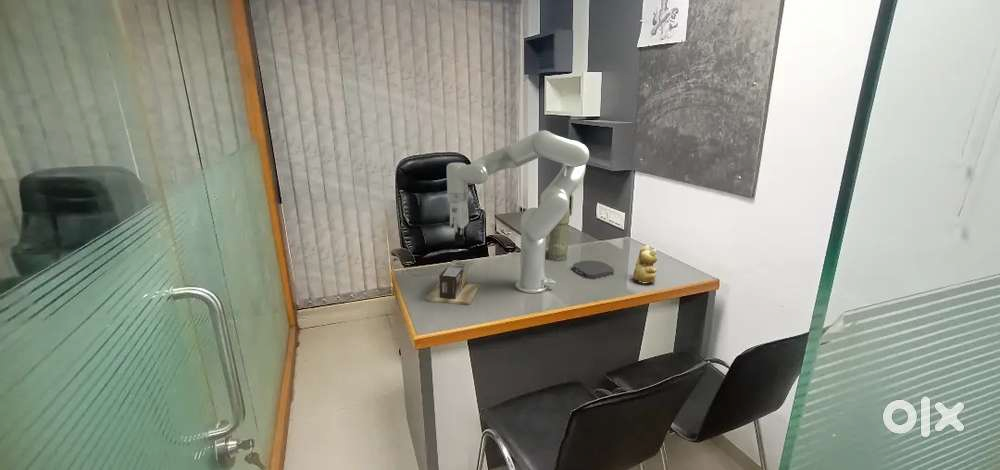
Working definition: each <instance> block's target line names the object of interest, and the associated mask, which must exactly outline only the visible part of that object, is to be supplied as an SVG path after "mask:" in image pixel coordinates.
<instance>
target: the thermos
mask: <svg viewBox="0 0 1000 470" xmlns="http://www.w3.org/2000/svg"><path fill="white" fill-rule="evenodd" d="M568 199H569V209H568V211H567V213H566V214H565V216H564V217H563V218H562V219H561V221H560V222H559V223H558V224H557V225H556V226H555V228H554V229H553V230H552V231H551V232H550V233H549V242H548V243H547V245H548V246H547V247H548V248H547V253H548V254H547V259H548V258H549V261H550V260H551V261H552V260H553V262H564V260H565V261H566V260H567V258H568V257H567V256H568V250H569V249H568V247H569V245H568V230H569V229H568V227H569V223H570V218H571V216H572V215H573V207H574V205H573V204H574V195H573V193H572V194H571V196H570V197H569V198H568Z"/></svg>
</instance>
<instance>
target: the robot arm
mask: <svg viewBox="0 0 1000 470" xmlns="http://www.w3.org/2000/svg"><path fill="white" fill-rule="evenodd" d="M541 157H543V158H545V159H548V160H550V161H552V162H555V163H558V164H559V163H560V164H562V167H561V169H560V171H559V172H558V174H557V175H556V177H554V179H553V180H552V181H551V182H550V183H549V185H548V186H547V187H546V188H545V189H544V190H543V192H542V193H541V194H540V198H539V199H540V203H539V205H538V206H537V207H530V208H527V209H526V210H525V211H524V212H523V213H522V215H521V219H520V254H519V255H520V260H519V262H520V263H519V279H518V280H517V281H516V282H515V288H516V289H517V290H518V291H521V292H523V293H529V294H537V293H542V292H545V291H546V290H548V286H553V287H554V286H556V280H554V278H547V277H546V274H545V268H546V267H545V266H546V265H545V264H546V262H545V261H546V246H547V245H546V244H547V242H546V241H547V236H549V235H550V232H551V231H552V230H553V229H554V228H555V226H556V225H557V224H558V223H559V222H560V221H561V219H562V218H563V217H564V216H565V214H566V213H567V211H568V209H569V199H568V198H570V196H571V194H572V195H573V193H574V192H575V191H576V189H577V188H578V186H579V185H580V184H581V183H582V181H583V179H584V177H585V174H586V169H587V168H586V167H587V163H588V161H589V159H590V151H589V149H588V147H587V146H586V144H584V143H582V142H580V141H579V140H577V139H576V140H574V139H570V138H569V139H568V138H566V137H563V136H559V135H557V134H555V133H552V132H551V131H548V130H545V129H544V130H539V131H536V132H534V133H532V134H530V135H527V136H526V137H524V138H521V139H520V140H517V141H515V142H513V143H510V144H508V145H506V146H504V147H502V148H499V149H498V150H494V151H493V152H490V153H487V154H486V155H483V156H481V157H479V158H477V159H475V160H473V161H472V162H471V163H470V164H466V163H464V162H450V163H447V165H446V187H447V189H446V190H447V191H446V193H447V202H449V226H450V228H451V229H453V234H454V245H461V246H462V245H464V243H465V227H466V226H467V225H468V224H469V222H470V221H469V218H470V217H469V207H468V202H469V186H468V185H469V184H471V185H482V184H485V182H486V181H487V180H488V178H489V176H491V175H492V174H495V173H497V172H500V171H502V170H506V169H507V170H508V169H516V168H520V167H521V166H524V165H526V164H528V163H530V162H532V161H534V160H537V159H539V158H541Z"/></svg>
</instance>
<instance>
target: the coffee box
mask: <svg viewBox="0 0 1000 470" xmlns="http://www.w3.org/2000/svg"><path fill="white" fill-rule="evenodd" d="M468 266H469V262H468V261H467V260H455V259H453V260H452V261H451V262H450V263H449V264H448V266H447V267H446V268H445V269H444V270H443V271H442V272H441V273H440V274H439V280H438V281H439V282H438V283H439V285H440V298H447V299H450V298H452V299H456V298H457V296H458V295H459V293H460V292H461V291H462V289H463V288H464V286H465V285H466V284H468V283H469V282H468V280H469V277H468V276H469V275H468V273H469V267H468Z"/></svg>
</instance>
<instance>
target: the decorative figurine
mask: <svg viewBox="0 0 1000 470" xmlns="http://www.w3.org/2000/svg"><path fill="white" fill-rule="evenodd" d="M657 252H658V250H657V248H654V249H651V250H650V246H649V245H647V244H646V245H645V246H643V247H641V248H640V251H639V254H638V257H637V260H636V263H635V268H634V270H633V278H634V280H635V281H637V280H638V281H641V282H652V283H655V281H656V278H657V274H656V272H657V271H658V269H657V268H656V267H654V264H655V263H656V262H657V261H658V255H657ZM638 281H637V282H638Z"/></svg>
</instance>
